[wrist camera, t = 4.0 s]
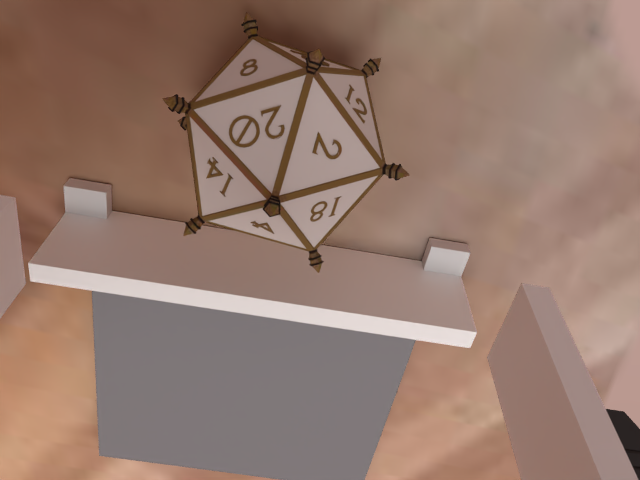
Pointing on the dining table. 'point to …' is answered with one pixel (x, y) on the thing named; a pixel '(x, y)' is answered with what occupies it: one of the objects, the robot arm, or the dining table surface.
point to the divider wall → (254, 272)
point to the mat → (240, 390)
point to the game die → (282, 144)
